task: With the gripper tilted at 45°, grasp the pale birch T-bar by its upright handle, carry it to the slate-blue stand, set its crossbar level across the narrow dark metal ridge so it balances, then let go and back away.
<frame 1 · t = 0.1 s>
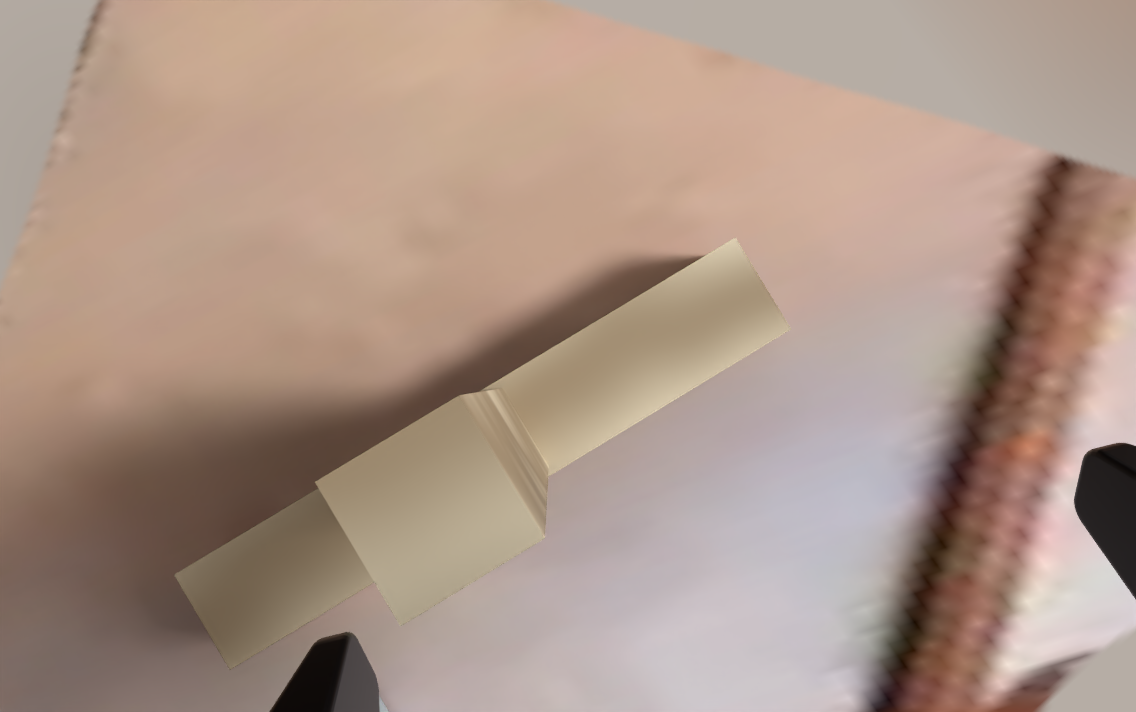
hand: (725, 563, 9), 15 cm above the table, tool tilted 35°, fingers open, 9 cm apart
t bar: (494, 441, 24), on the table
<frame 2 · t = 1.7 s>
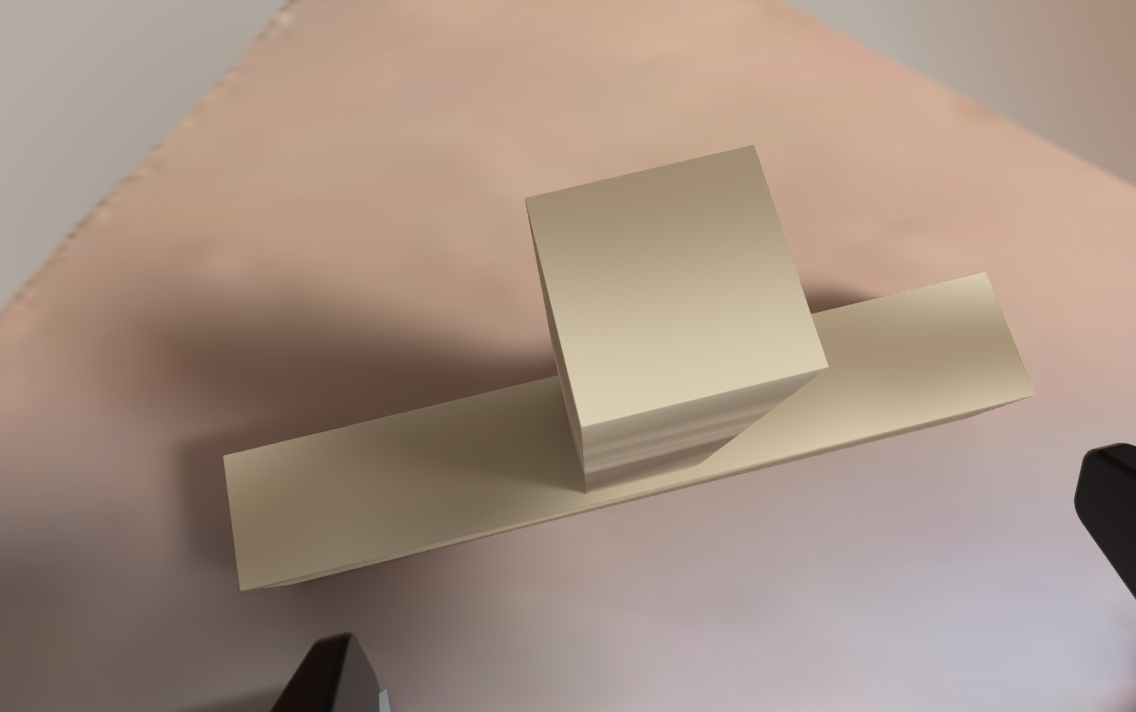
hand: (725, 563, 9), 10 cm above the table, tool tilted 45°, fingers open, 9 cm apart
t bar: (621, 443, 20), on the table
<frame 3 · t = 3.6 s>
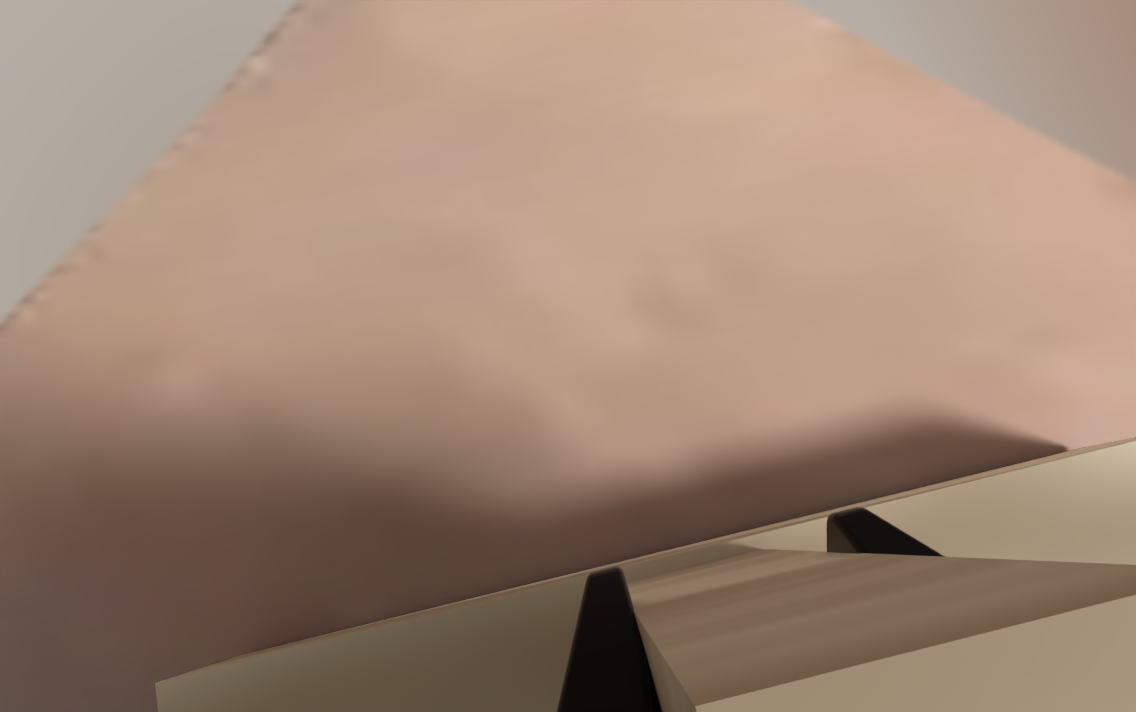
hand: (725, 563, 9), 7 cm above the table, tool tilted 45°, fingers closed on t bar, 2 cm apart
t bar: (687, 624, 15), on the table, touching gripper
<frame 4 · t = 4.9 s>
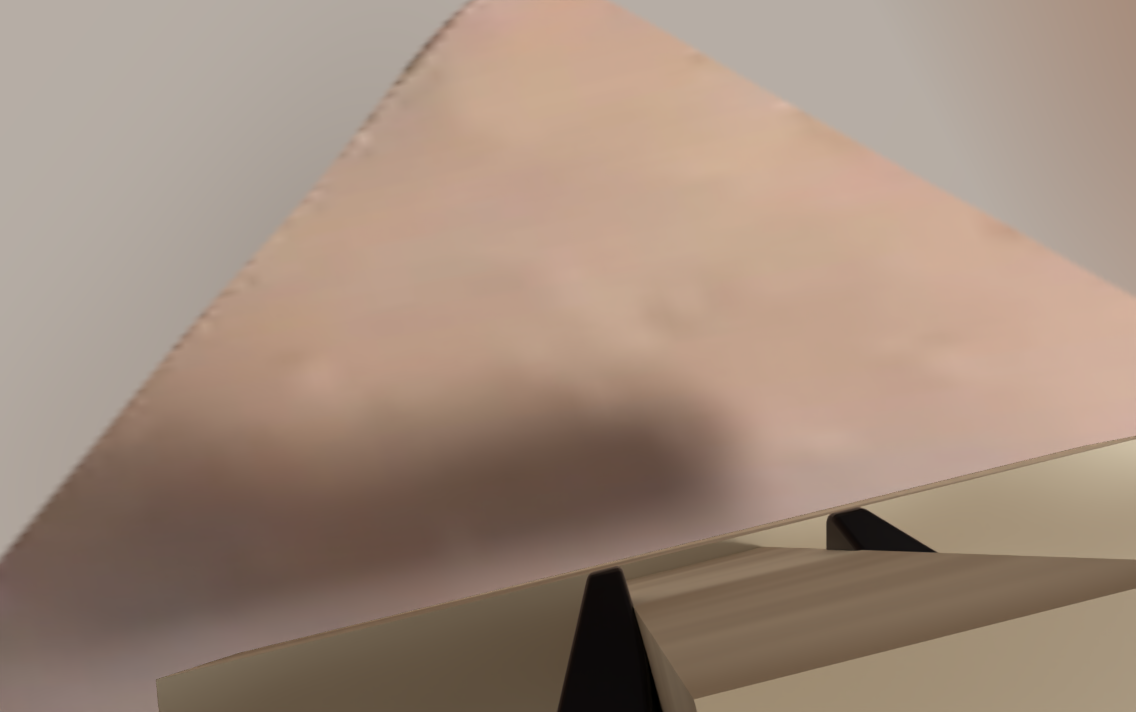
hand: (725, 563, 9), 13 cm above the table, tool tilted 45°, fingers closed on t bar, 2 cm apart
t bar: (687, 622, 15), point 7 cm above the table, touching gripper
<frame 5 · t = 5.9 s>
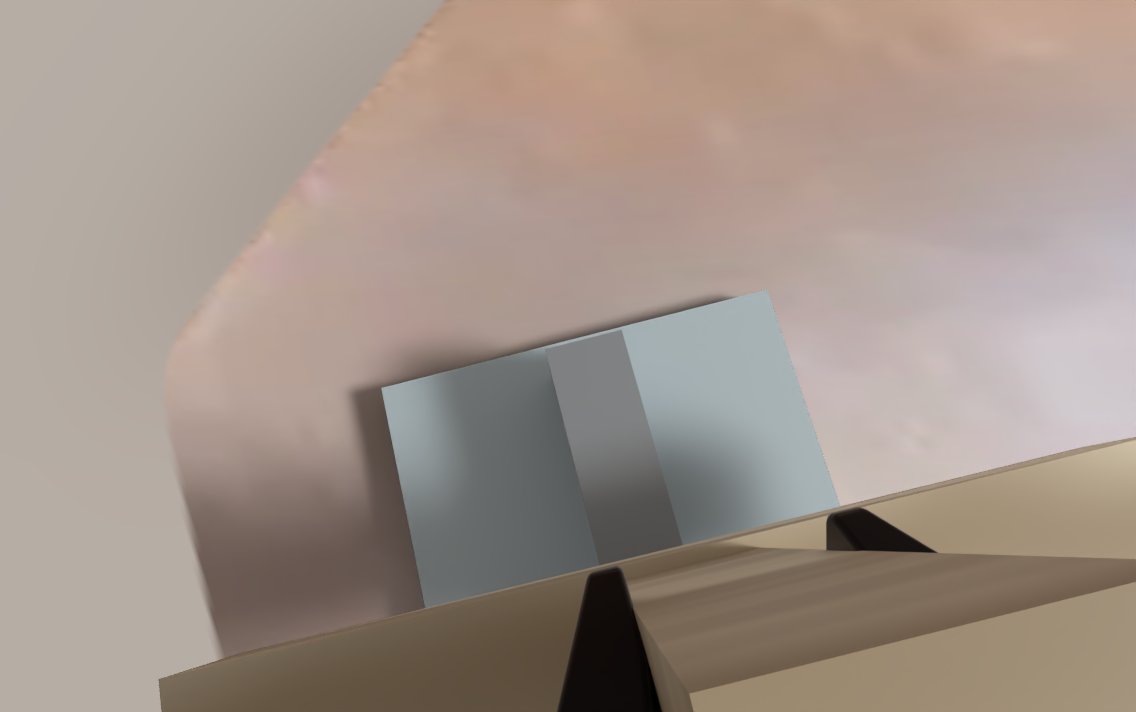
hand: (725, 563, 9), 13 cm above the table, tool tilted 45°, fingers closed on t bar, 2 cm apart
t bar: (687, 623, 15), point 7 cm above the table, touching gripper
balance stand: (645, 606, 22), on the table
when the fingers open (12 cm above the table, at t = 6.5 s): t bar stays where it is, resting on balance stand.
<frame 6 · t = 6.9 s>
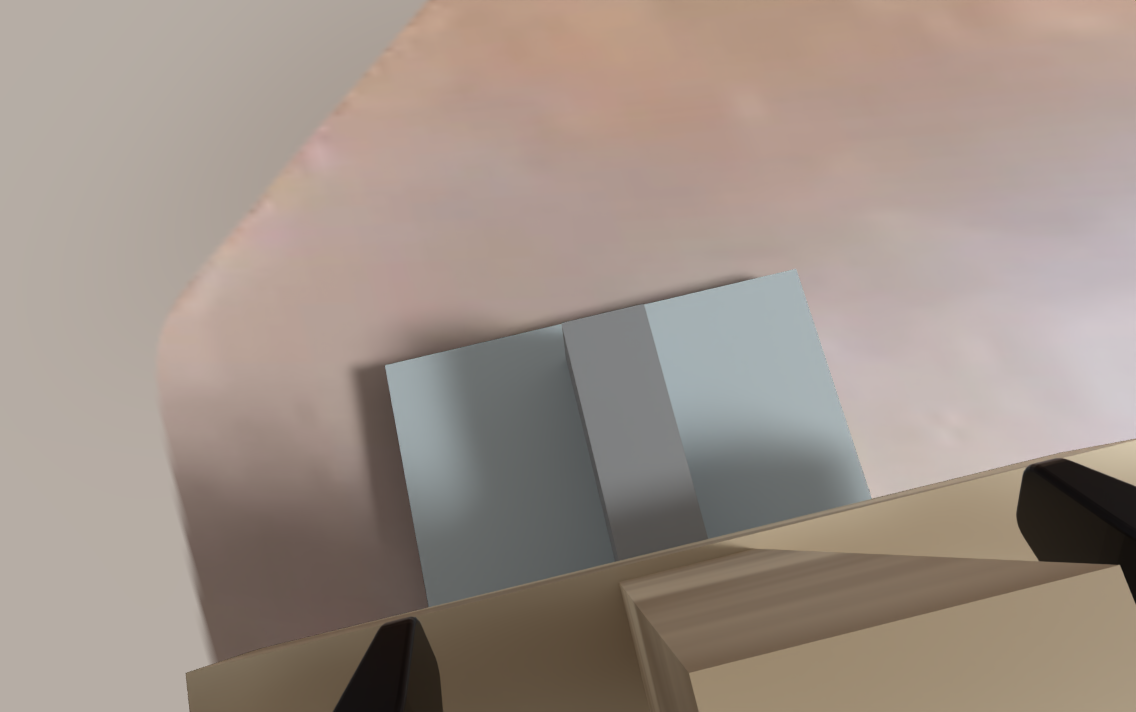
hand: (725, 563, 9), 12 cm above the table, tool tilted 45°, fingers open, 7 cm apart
t bar: (684, 620, 16), point 5 cm above the table, touching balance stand
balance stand: (661, 602, 20), on the table
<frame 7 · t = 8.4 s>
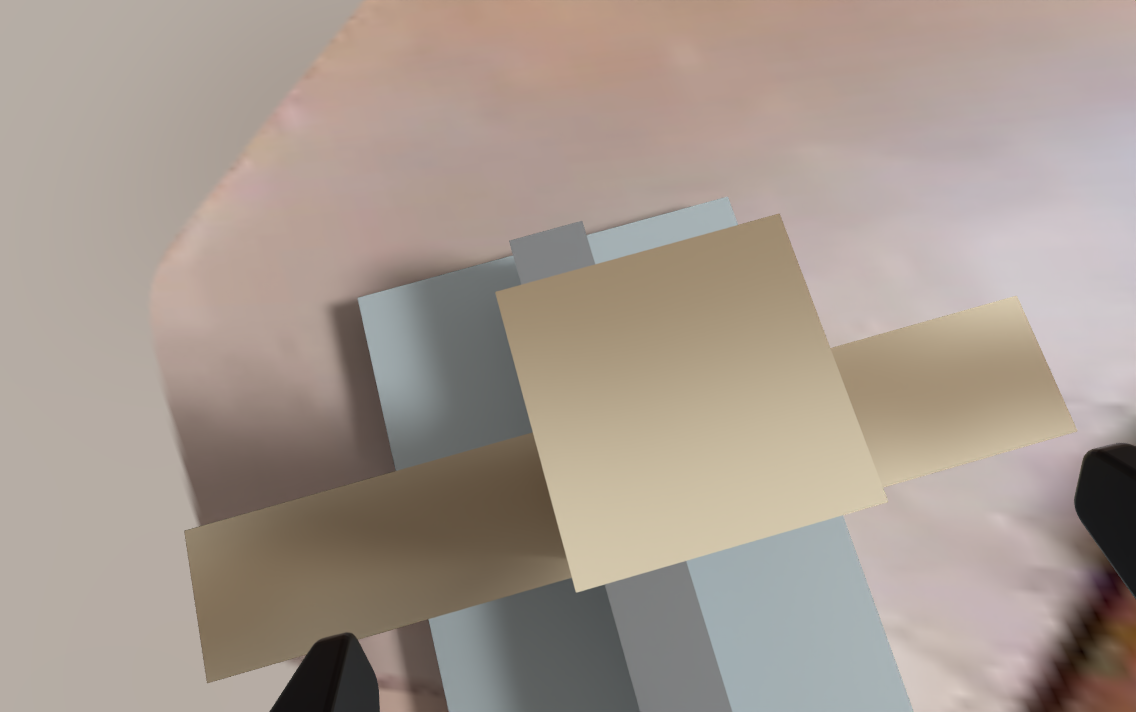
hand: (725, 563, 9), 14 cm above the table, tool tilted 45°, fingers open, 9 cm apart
t bar: (623, 490, 18), point 4 cm above the table, touching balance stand
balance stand: (615, 499, 23), on the table
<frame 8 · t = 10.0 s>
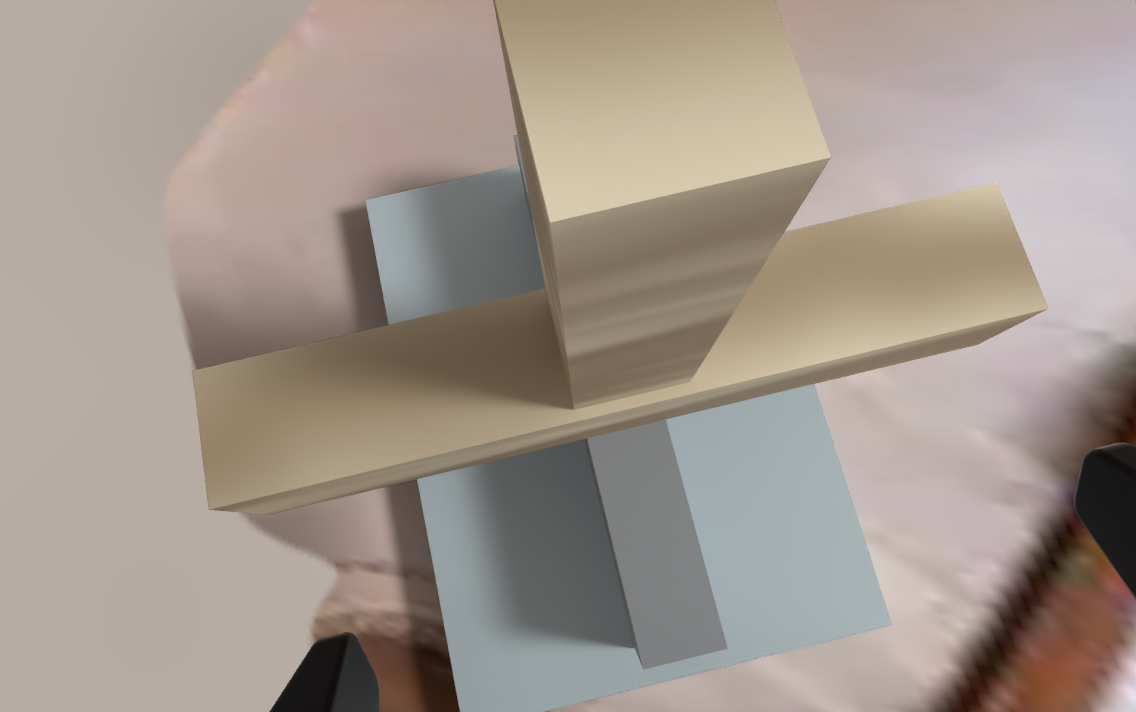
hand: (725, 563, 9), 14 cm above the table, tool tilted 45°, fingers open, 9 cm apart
t bar: (613, 370, 19), point 4 cm above the table, touching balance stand
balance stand: (607, 401, 23), on the table
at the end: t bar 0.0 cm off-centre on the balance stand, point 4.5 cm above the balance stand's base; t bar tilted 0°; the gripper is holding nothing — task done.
